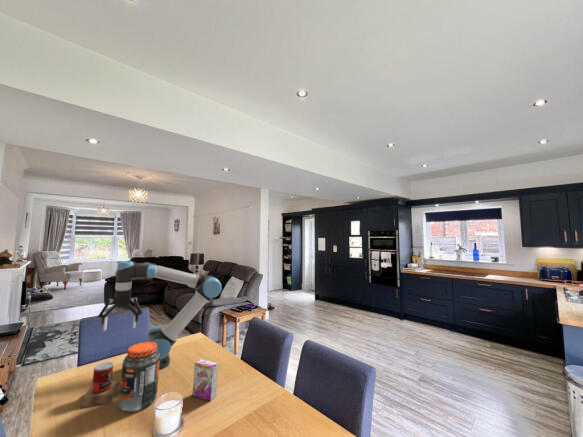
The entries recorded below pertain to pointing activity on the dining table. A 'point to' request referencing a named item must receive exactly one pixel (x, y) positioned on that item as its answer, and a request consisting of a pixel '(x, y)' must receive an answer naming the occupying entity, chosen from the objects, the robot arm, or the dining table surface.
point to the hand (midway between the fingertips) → (119, 329)
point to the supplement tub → (139, 377)
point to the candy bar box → (205, 379)
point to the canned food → (102, 377)
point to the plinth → (99, 396)
